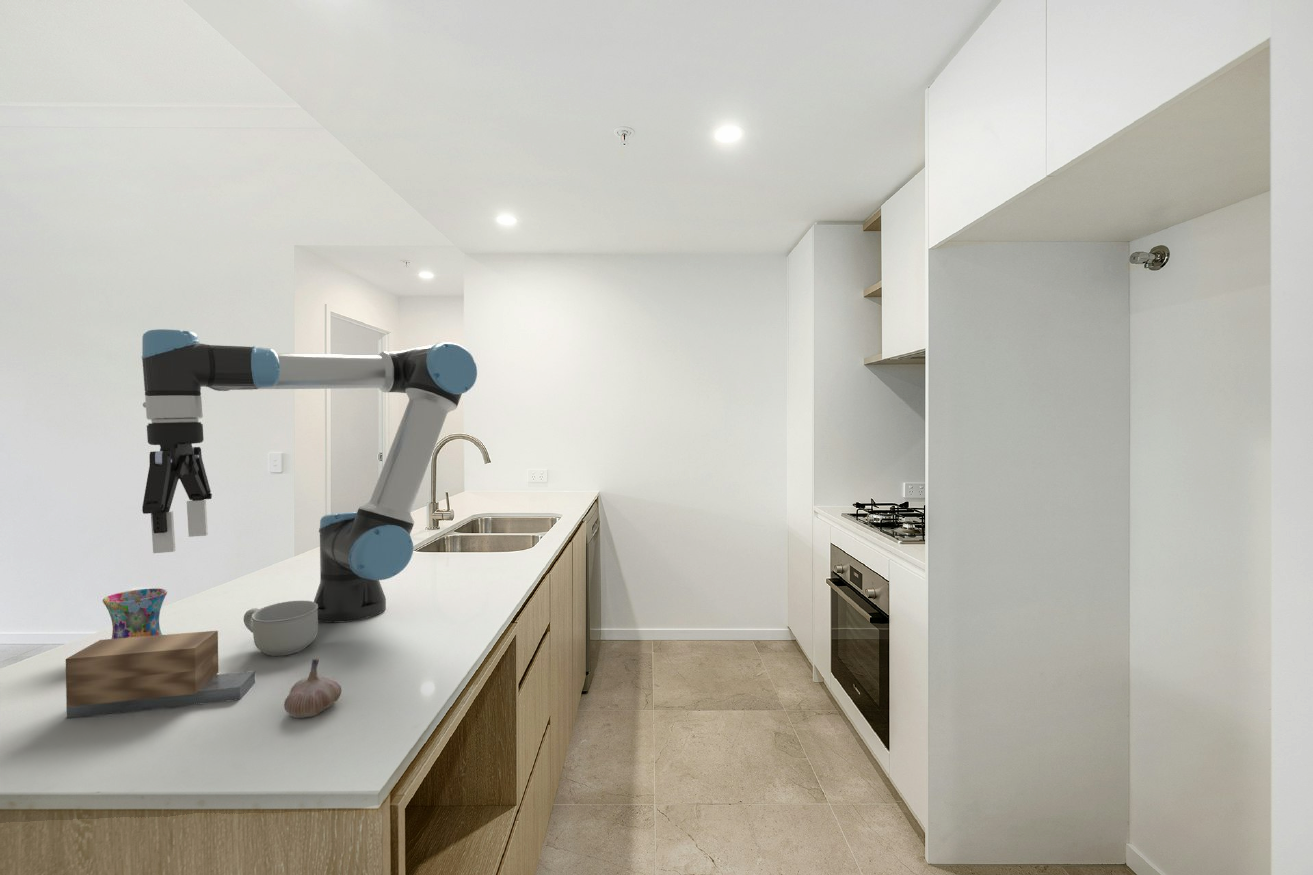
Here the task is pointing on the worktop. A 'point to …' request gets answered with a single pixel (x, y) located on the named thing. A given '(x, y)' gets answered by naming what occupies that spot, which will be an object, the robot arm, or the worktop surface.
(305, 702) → the garlic bulb
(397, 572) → the robot arm
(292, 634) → the teacup
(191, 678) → the brown wooden block
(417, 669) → the worktop surface
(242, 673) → the mount rail
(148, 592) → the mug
